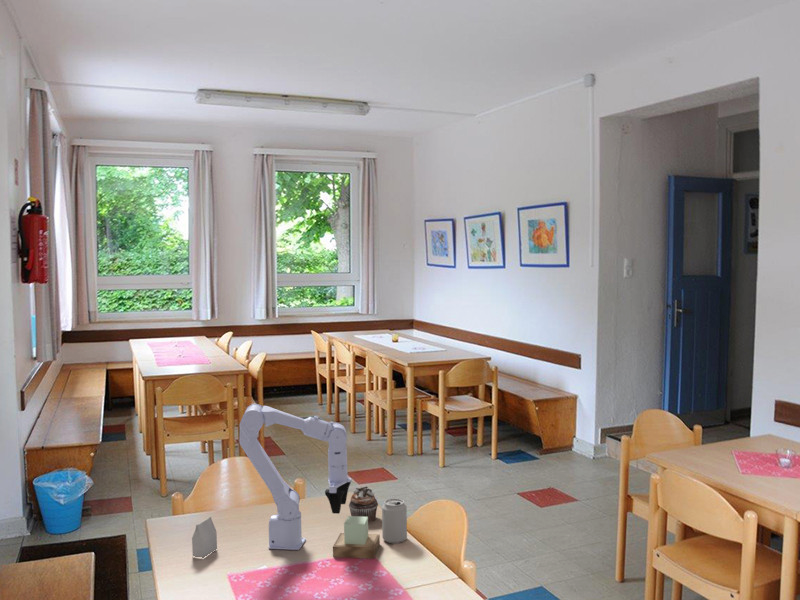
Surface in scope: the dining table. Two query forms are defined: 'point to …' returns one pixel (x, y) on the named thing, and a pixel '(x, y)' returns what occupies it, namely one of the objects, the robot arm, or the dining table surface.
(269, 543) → the robot arm
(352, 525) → the green cube
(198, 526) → the grey angular block
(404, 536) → the can
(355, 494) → the cupcake
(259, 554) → the dining table surface
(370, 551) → the brown shallow tray
